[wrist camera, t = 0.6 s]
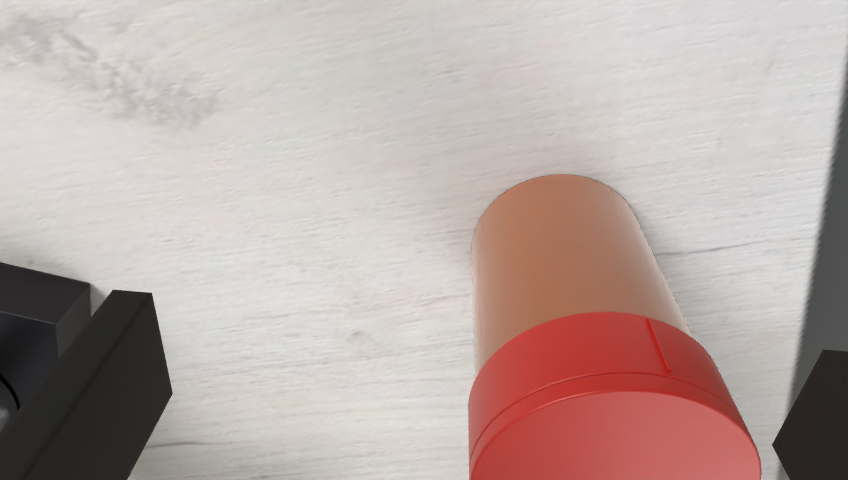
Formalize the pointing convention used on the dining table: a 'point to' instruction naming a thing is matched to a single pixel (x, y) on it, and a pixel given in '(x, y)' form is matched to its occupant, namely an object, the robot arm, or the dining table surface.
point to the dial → (6, 406)
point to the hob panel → (37, 324)
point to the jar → (561, 261)
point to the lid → (606, 406)
